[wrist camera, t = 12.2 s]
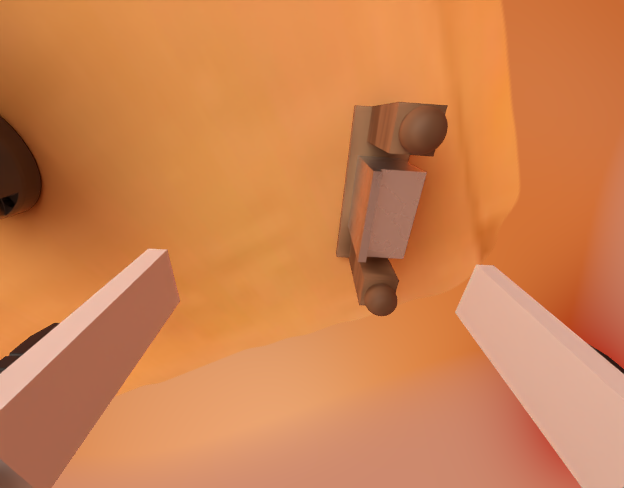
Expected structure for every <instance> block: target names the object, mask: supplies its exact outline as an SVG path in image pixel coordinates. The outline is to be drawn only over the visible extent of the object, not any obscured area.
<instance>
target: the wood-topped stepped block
mask: <svg viewBox="0 0 624 488" xmlns="http://www.w3.org/2000/svg"><path fill="white" fill-rule="evenodd" d="M426 174H427V172H425V171H423V170H421V169H420V168H418V167H416V166H414V165H412V164H410V163H408V162H406V161H404V160H402V159H400V158H387V157H372V156H358V158H357V165H356V172H355V179H354V186H353V194H352V201H351V208H350V215H349V222H348V228H349V231H350V235H351V239H352V242H353V246H354V250H355V253H356V257H357V261H358V262H366V258H367V257H381V258H397V259H403V258H404V254H405V251H406V247H407V243H408V240H409V236H410V232H411V229H412V225H413V221H414V218H415V214H416V210H417V207H418V203H419V199H420V196H421V192H422V188H423V185H424V181H425V177H426Z"/></svg>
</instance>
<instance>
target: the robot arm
mask: <svg viewBox="0 0 624 488" xmlns="http://www.w3.org/2000/svg"><path fill="white" fill-rule="evenodd" d="M40 191H41V180H40V174H39V170H38V168H37V165H36V162H35V160H34V158H33V156H32V154H31V152H30V151H29V149H28V147H27V146H26V144H25V143H24V142H23V140H22V139H21V138H20V136H19V135H18V134H17V133H16V132H15V131H14V129H13V128H12V127H11V126H10V125H9V124H8V123H7V122H6V121H5V120H3V119H2V118H1V117H0V219H1V218H6V217H9V216H12V215H15V214H19V213H22V212H24V211H27V210H28V209H30V208H31V207H32V206H33V205H34V204H35V203H36V202H37V200H38V198H39V195H40ZM179 302H180V299H179V295H178V291H177V287H176V283H175V279H174V275H173V271H172V267H171V263H170V259H169V255H168V251H167V250H164V249H147V250H146V251H145V252H144V253H143V254H142V255H140V256H139V257H138V258H137V259H136V260H134V261H133V262H132V263H131V264H130V265H128V266H127V267H126V268H125V269H124V270H123V271H121V272H120V273H119V274H118V275H117V276H115V277H114V278H113V279H112V280H111V281H110V282H108V283H107V284H106V285H105V286H104V287H102V288H101V289H100V290H99V291H98V292H96V293H95V294H94V295H93V296H92V297H91V298H89V299H88V300H87V301H86V302H85V303H83V304H82V305H81V306H80V307H79V308H78V309H76V310H75V311H74V312H73V313H72V314H70V315H69V316H68V317H67V318H66V319H64V320H63V321H62V322H61V323H54V324H52V325H50V326H48V327H46V328H45V329H43V330H41V331H39V332H37V333H36V334H34V335H32V336H30V337H29V338H28V339H27V340H25V341H24V342H23V343H22V344H20V345H19V346H18V347H17V348H15V349H14V350H13V351H12V352H10V355H9V356H5V357H4V358H3V359H2V360H0V488H52V486H53V485H54V483H55V482H56V480H57V479H58V477H59V476H60V474H61V473H62V472H63V470H64V469H65V467H66V466H67V464H68V463H69V462H70V460H71V459H72V457H73V456H74V454H75V453H76V451H77V450H78V448H79V447H80V446H81V444H82V443H83V441H84V440H85V438H86V437H87V435H88V434H89V432H90V431H91V430H92V428H93V427H94V425H95V424H96V422H97V421H98V419H99V418H100V416H101V415H102V414H103V412H104V411H105V409H106V408H107V406H108V405H109V403H110V402H111V400H112V399H113V398H114V396H115V395H116V393H117V392H118V390H119V389H120V387H121V386H122V385H123V383H124V382H125V380H126V379H127V377H128V376H129V374H130V373H131V371H132V370H133V369H134V367H135V366H136V364H137V363H138V361H139V360H140V358H141V357H142V356H143V354H144V353H145V351H146V350H147V348H148V347H149V345H150V344H151V342H152V341H153V340H154V338H155V337H156V335H157V334H158V332H159V331H160V329H161V328H162V326H163V325H164V324H165V322H166V321H167V319H168V318H169V316H170V315H171V313H172V312H173V311H174V309H175V308H176V306H177V305H178V303H179ZM455 313H456V314H457V316H458V317H459V319H460V320H461V321H462V323H463V324H464V325H465V327H466V328H467V330H468V331H469V332H470V334H471V335H472V337H473V338H474V339H475V341H476V342H477V343H478V345H479V346H480V347H481V349H482V350H483V352H484V353H485V354H486V356H487V357H488V358H489V360H490V361H491V363H492V364H493V366H494V367H495V368H496V370H497V371H498V372H499V373H500V375H501V377H502V378H503V379H504V381H505V382H506V383H507V385H508V386H509V387H510V389H511V390H512V392H513V393H514V394H515V396H516V397H517V399H518V400H519V401H520V403H521V404H522V405H523V407H524V408H525V410H526V411H527V412H528V414H529V415H530V417H531V418H532V419H533V421H534V422H535V423H536V424H537V426H538V428H539V429H540V430H541V432H542V433H543V434H544V436H545V437H546V439H547V440H548V441H549V443H550V444H551V446H552V447H553V448H554V450H555V451H556V452H557V453H558V455H559V457H560V458H561V459H562V460H563V462H564V464H565V465H566V466H567V467H568V469H569V470H570V472H571V473H572V475H573V476H574V477H575V479H576V480H577V481H578V483H579V484H580V486H581V487H582V488H624V369H623V368H622V367H620V366H619V365H618V364H617V363H616V362H614V361H613V360H612V359H611V358H609V357H608V356H607V355H605V354H604V353H602V352H600V351H599V350H597V349H595V348H594V347H592V346H591V345H589V344H587V343H586V342H584V341H583V340H582V339H581V338H580V337H579V336H577V335H576V334H575V333H574V332H573V331H571V330H570V329H569V328H568V327H567V326H565V325H564V324H563V323H562V322H561V321H559V320H558V319H557V318H556V317H555V316H554V315H552V314H551V313H550V312H549V311H548V310H546V309H545V308H544V307H543V306H541V305H540V304H539V303H538V302H537V301H535V300H534V299H533V298H532V297H531V296H530V295H528V294H527V293H526V292H525V291H524V290H522V289H521V288H520V287H519V286H518V285H516V284H515V283H514V282H513V281H512V280H510V279H509V278H508V277H507V276H506V275H504V274H503V273H502V272H501V271H500V270H498V269H497V268H496V267H495V266H494V265H476V266H475V269H474V271H473V273H472V275H471V278H470V280H469V282H468V284H467V287H466V289H465V291H464V293H463V296H462V298H461V300H460V303H459V305H458V307H457V309H456V311H455Z"/></svg>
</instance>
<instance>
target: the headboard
mask: <svg viewBox="0 0 624 488" xmlns="http://www.w3.org/2000/svg"><path fill="white" fill-rule="evenodd" d="M447 106H448V105H434V104H420V103H406V102H396V103H390V104H384V105H378V106H372V107H371V106H357V105H355V107H354V115H353V123H352V131H351V139H350V147H349V155H348V163H347V171H346V179H345V187H344V195H343V203H342V211H341V219H340V227H339V235H338V243H337V251H336V255H337V257H348V258H349V261H350V265H351V270H352V274H353V279H354V283H355V288H356V293H357V297H358V302H359V305H366V307H367V308H368V310H369V311H370V312H371V313H373V314H375V315H378V316H386V315H388V314H391V313H392V312H393V311H394V310H395V308H396V306H397V296H396V289H397V285H398V282H399V280H398V278H397V276H396V274H395V272H394V270H393V268H392V266H391V264H390V262H389V260H388V258H381V257H367V258H366V262H358V261H357V257H356V253H355V250H354V246H353V242H352V239H351V235H350V231H349V228H348V222H349V215H350V208H351V201H352V194H353V186H354V179H355V172H356V165H357V158H358V156H372V157H387V158H400V159H402V160H404V161H406V162H408V160H409V156H410V155H420V156H434V152H435V149H436V148H437V147H438V146H439V145H440V144H441V143H442V142H443V140H444V138H445V136H446V133H447V127H448V126H447V119H446V117H445V113H446V109H447Z"/></svg>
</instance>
